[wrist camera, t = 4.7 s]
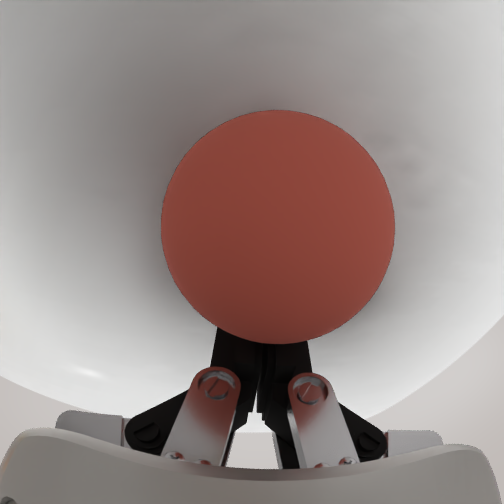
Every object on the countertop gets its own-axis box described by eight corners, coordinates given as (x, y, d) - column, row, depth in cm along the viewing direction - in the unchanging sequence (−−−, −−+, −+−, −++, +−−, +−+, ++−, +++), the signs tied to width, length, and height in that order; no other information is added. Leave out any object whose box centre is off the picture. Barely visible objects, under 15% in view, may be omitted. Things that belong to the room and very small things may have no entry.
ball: (194, 111, 8) (102, 103, 3) (362, 127, 8) (475, 147, 3) (194, 262, 11) (146, 379, 6) (337, 272, 11) (382, 389, 6)
